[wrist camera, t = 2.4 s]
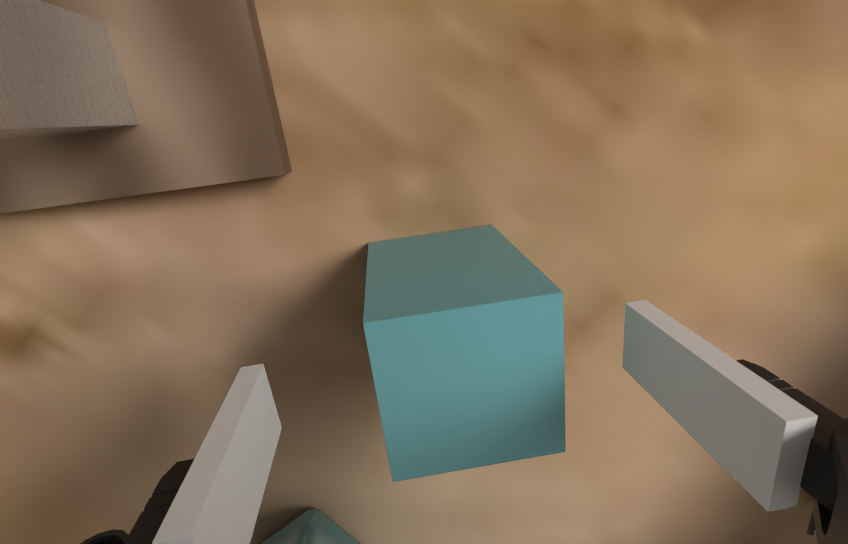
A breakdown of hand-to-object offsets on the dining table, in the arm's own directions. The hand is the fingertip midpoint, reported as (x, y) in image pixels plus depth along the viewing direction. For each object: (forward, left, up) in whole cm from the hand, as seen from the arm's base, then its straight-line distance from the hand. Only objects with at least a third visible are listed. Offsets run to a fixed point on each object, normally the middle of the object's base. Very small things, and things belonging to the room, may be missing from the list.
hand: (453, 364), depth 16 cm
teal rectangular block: (0, 0, -7) cm, 7 cm away
